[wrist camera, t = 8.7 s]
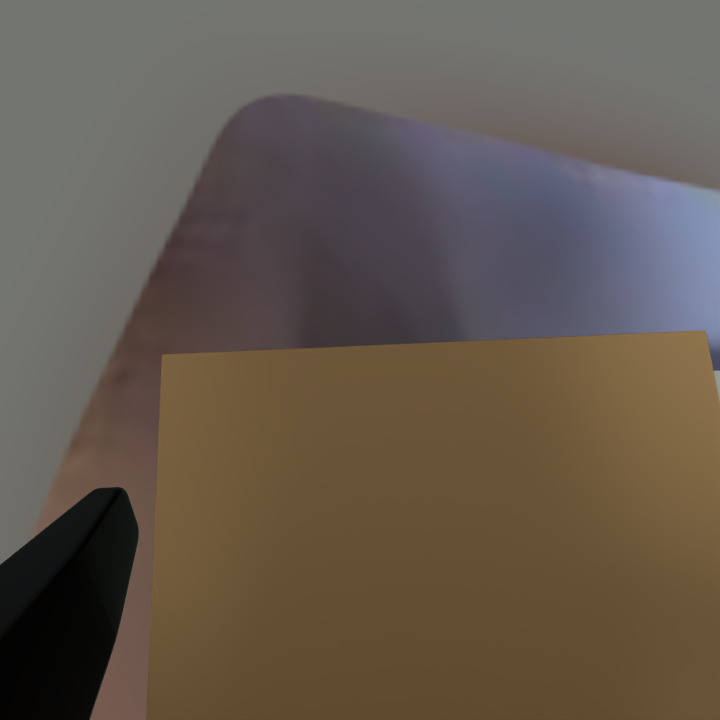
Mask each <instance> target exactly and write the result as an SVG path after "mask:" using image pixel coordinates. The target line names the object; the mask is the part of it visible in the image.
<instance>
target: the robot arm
mask: <svg viewBox="0 0 720 720" xmlns="http://www.w3.org/2000/svg"><path fill="white" fill-rule="evenodd" d="M138 536H139V530H138V524H137V521H136V518H135V515H134V512H133V509H132V506H131V503H130V500H129V497H128V494H127V492H126V491H125V490H124V489H123V488H120V487H111V488H98V489H95V490H93V491H92V492H90V493H89V494H88V495H86V496H85V497H84V498H83V499H81V500H80V501H79V502H78V503H76V504H75V505H74V506H73V507H71V508H70V509H69V510H68V511H67V512H65V513H64V514H63V515H62V516H60V517H59V518H58V519H57V520H55V521H54V522H53V523H52V524H50V525H49V526H48V527H47V528H45V529H44V530H43V531H42V532H40V533H39V534H38V535H37V536H35V537H34V538H33V539H32V540H30V541H29V542H28V543H27V544H26V545H24V546H23V547H22V548H21V549H19V550H18V551H17V552H16V553H14V554H13V555H12V556H11V557H9V558H8V559H7V560H6V561H4V562H3V563H2V564H1V565H0V720H90V717H91V714H92V711H93V708H94V705H95V702H96V699H97V696H98V693H99V690H100V687H101V684H102V681H103V678H104V675H105V672H106V669H107V666H108V663H109V660H110V657H111V654H112V651H113V647H114V644H115V641H116V638H117V634H118V630H119V625H120V621H121V617H122V612H123V608H124V603H125V598H126V594H127V589H128V585H129V580H130V575H131V571H132V566H133V561H134V557H135V552H136V548H137V543H138Z"/></svg>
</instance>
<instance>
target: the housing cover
mask: <svg viewBox="0 0 720 720" xmlns="http://www.w3.org/2000/svg"><path fill="white" fill-rule="evenodd" d="M146 720H720V400H719V395H718V390H717V385H716V380H715V375H714V370H713V365H712V360H711V355H710V350H709V345H708V340H707V335H706V331H683V332H661V333H638V334H615V335H593V336H570V337H548V338H525V339H502V340H480V341H457V342H435V343H412V344H389V345H367V346H344V347H322V348H299V349H276V350H254V351H231V352H209V353H186V354H164V355H162V367H161V390H160V413H159V437H158V460H157V484H156V507H155V531H154V554H153V578H152V601H151V624H150V648H149V671H148V695H147V718H146Z"/></svg>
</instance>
